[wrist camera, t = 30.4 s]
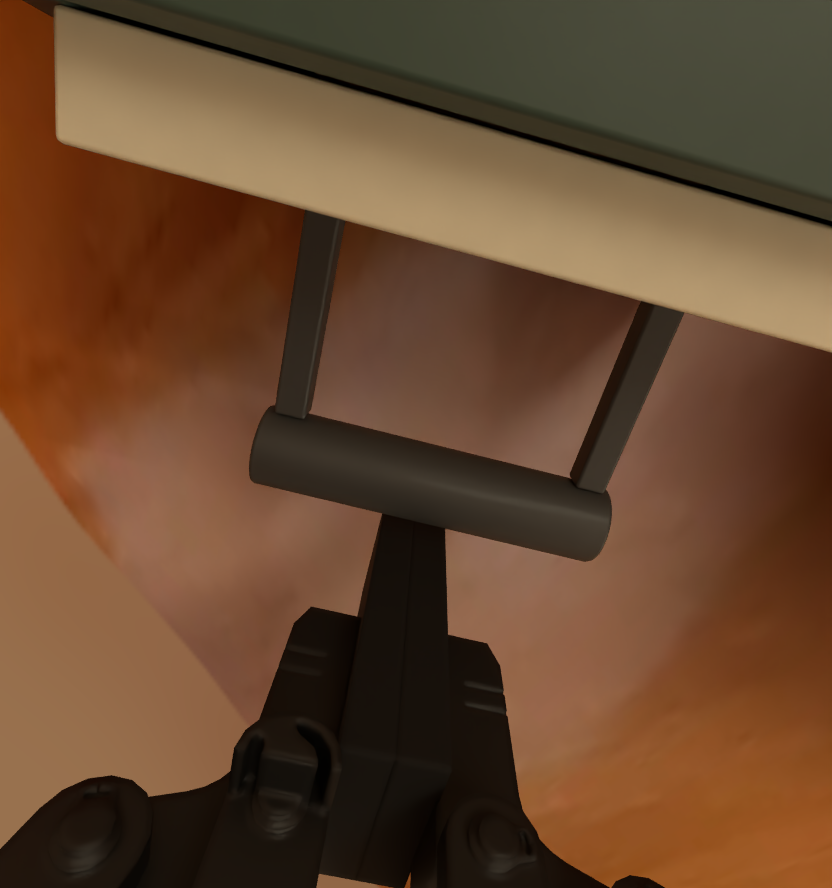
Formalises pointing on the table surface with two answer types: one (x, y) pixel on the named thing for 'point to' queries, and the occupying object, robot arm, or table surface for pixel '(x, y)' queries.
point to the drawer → (447, 225)
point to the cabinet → (568, 74)
